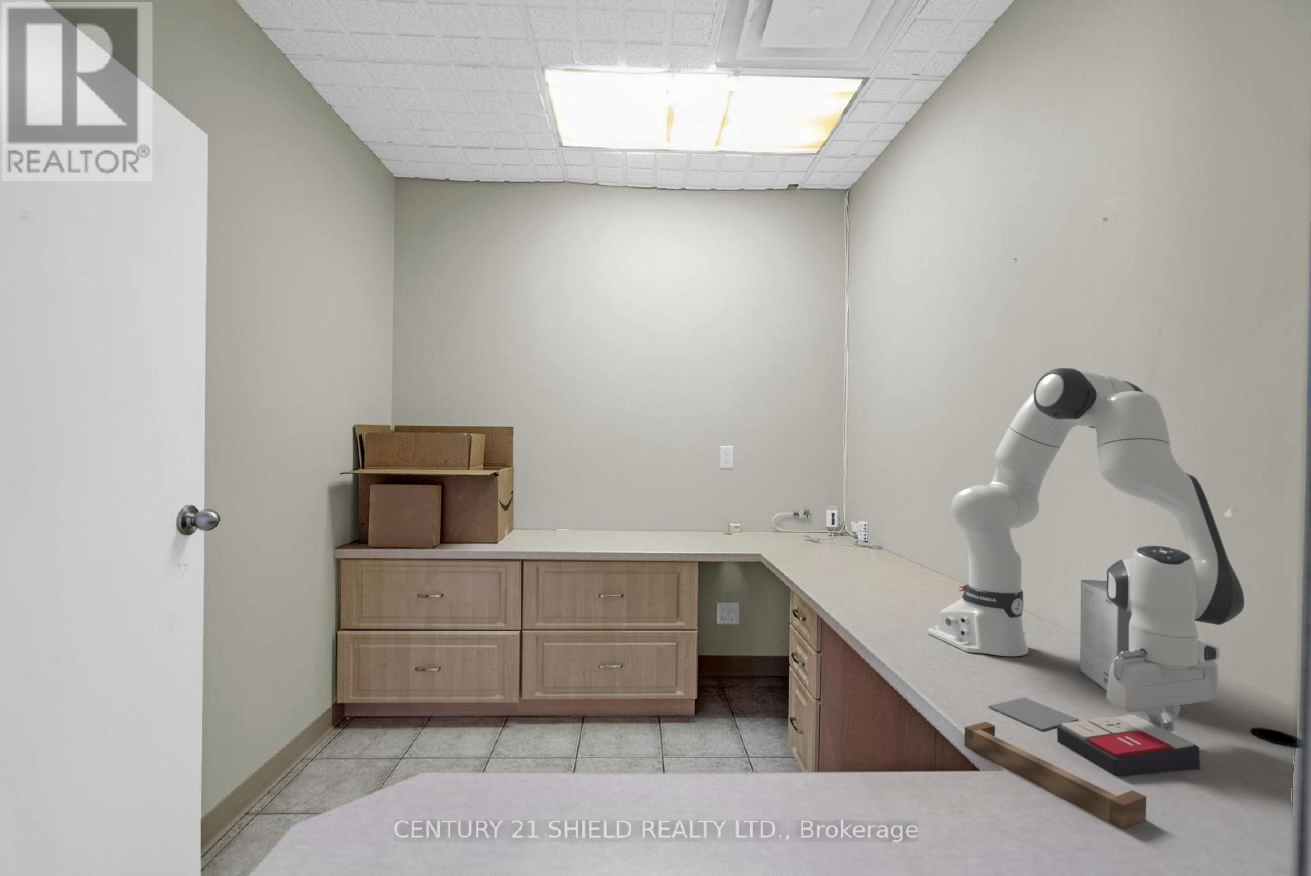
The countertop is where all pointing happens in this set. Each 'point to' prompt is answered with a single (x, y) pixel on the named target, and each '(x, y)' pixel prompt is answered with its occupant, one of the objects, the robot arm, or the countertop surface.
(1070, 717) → the rest mat
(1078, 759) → the countertop surface
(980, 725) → the brown wooden handle
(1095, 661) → the hard drive box
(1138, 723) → the calculator
